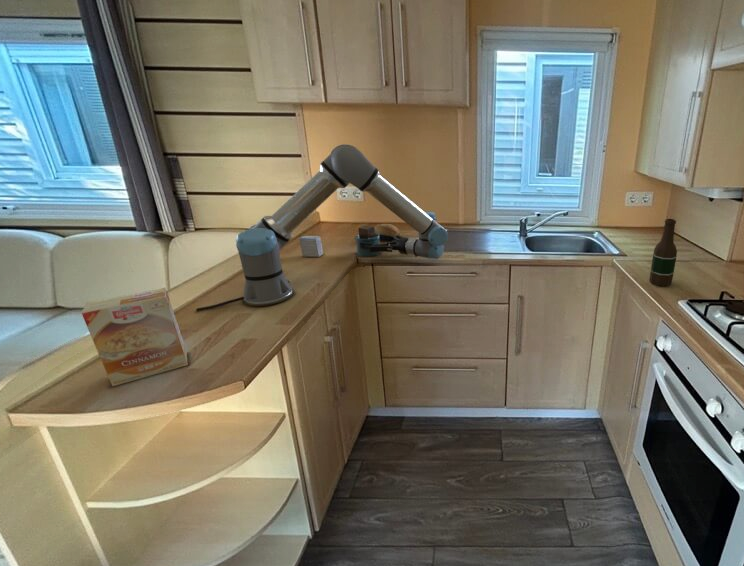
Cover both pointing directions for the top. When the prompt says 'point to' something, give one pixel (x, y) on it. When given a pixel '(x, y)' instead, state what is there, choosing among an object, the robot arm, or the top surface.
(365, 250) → the teal blue cylinder
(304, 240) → the medicine box
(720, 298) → the top surface
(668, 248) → the beer bottle
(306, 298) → the top surface
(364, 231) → the block
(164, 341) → the coffeecake box
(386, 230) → the bread roll
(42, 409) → the top surface
